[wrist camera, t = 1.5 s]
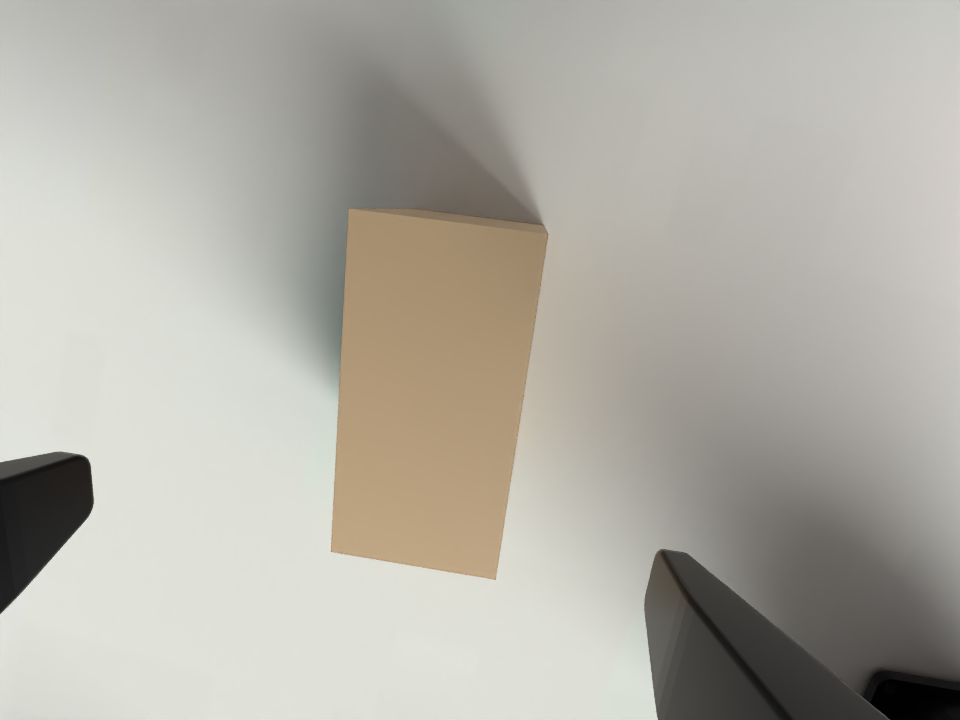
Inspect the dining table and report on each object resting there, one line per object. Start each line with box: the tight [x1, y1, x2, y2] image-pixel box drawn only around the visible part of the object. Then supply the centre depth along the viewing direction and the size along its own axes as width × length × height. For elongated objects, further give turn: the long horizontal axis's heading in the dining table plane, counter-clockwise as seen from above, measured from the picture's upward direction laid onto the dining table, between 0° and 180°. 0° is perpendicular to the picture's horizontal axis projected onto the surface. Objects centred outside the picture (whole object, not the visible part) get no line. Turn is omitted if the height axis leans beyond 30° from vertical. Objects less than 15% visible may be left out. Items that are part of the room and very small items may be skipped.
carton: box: [331, 209, 548, 580], centre depth 17 cm, size 5×9×7 cm, turn 173°
